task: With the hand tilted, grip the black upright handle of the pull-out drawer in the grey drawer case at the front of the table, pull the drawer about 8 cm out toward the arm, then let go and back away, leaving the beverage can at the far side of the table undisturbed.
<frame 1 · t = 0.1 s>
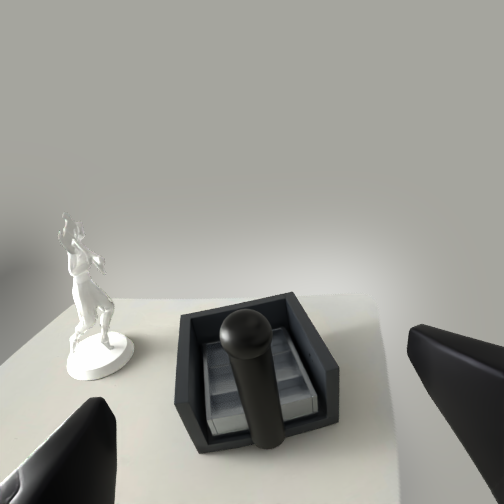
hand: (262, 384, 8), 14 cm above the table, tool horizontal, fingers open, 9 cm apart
figurine: (100, 358, 34), on the table
pull-out drawer: (246, 344, 23), point 7 cm above the table, slide at 0.0 cm
grey drawer case: (256, 391, 27), on the table
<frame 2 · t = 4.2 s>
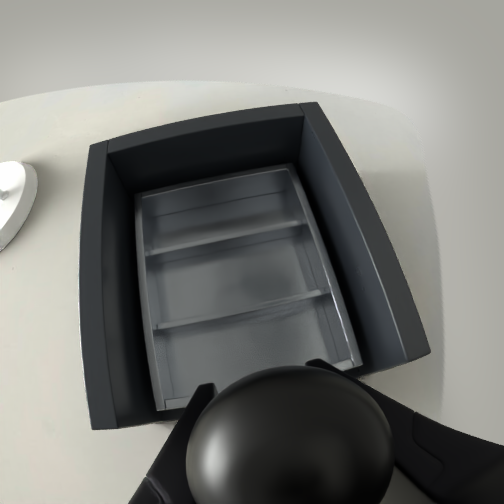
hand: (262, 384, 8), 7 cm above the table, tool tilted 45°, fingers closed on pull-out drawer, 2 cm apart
pull-out drawer: (234, 264, 9), point 7 cm above the table, slide at 0.0 cm, touching gripper
grey drawer case: (235, 287, 16), on the table
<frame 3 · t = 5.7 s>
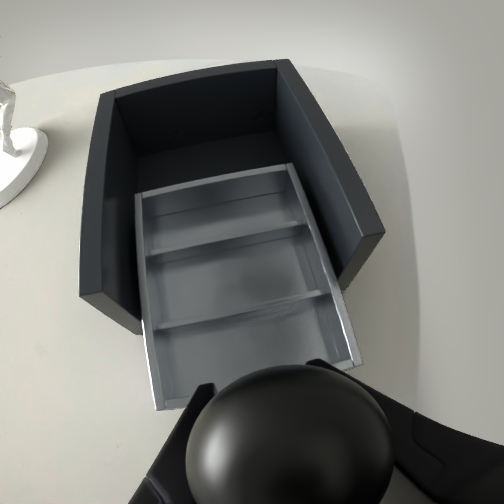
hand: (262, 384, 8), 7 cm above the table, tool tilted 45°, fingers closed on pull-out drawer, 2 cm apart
figurine: (6, 170, 21), on the table
pull-out drawer: (234, 264, 9), point 7 cm above the table, slide at 4.5 cm, touching gripper
grey drawer case: (219, 214, 18), on the table
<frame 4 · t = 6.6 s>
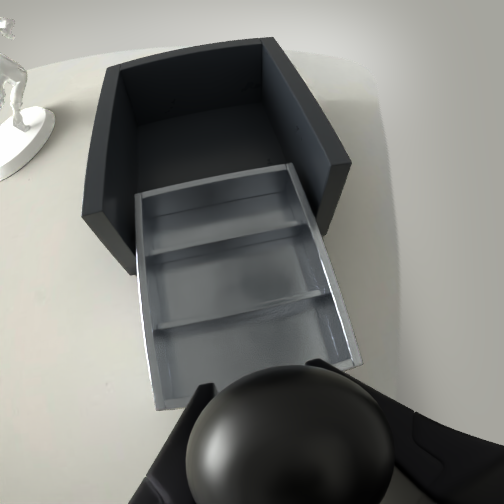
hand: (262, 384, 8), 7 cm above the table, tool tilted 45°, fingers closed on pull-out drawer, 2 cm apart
figurine: (15, 145, 23), on the table
pull-out drawer: (234, 264, 9), point 7 cm above the table, slide at 7.8 cm, touching gripper
grey drawer case: (211, 171, 20), on the table
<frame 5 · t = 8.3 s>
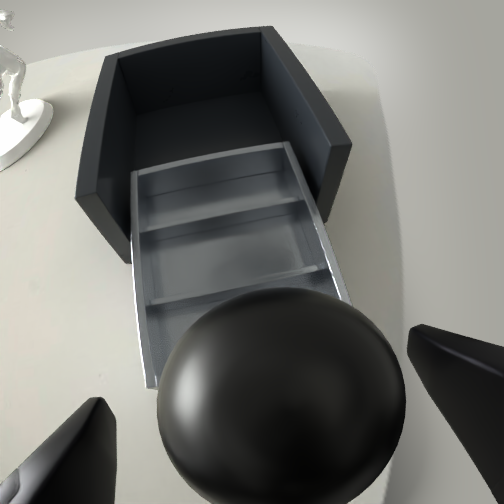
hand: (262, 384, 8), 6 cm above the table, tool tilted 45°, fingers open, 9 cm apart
figurine: (13, 137, 22), on the table
pull-out drawer: (227, 227, 9), point 7 cm above the table, slide at 7.4 cm
grey drawer case: (209, 159, 19), on the table
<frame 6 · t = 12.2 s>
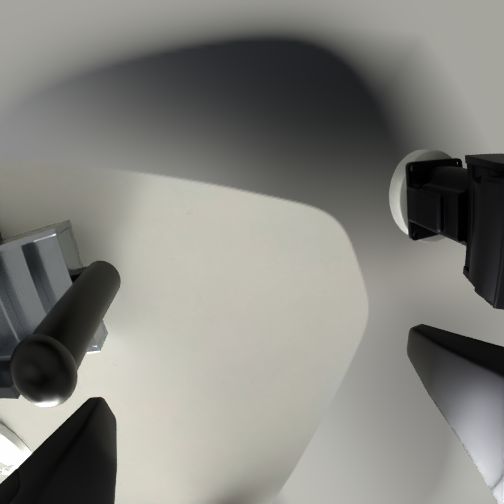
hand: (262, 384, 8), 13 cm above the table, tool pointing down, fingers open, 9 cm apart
figurine: (2, 441, 23), on the table
pull-out drawer: (5, 330, 13), point 7 cm above the table, slide at 7.4 cm
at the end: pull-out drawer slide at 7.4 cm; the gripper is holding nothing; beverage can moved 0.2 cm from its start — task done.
